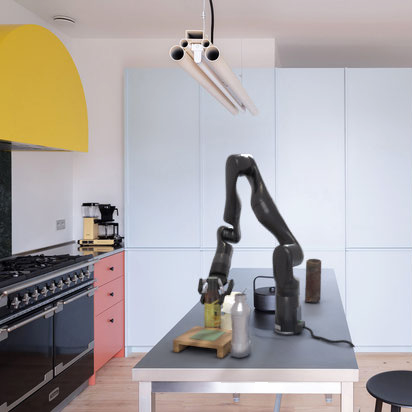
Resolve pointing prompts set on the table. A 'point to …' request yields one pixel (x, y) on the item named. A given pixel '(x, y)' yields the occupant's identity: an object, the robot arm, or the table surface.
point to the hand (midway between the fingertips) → (211, 303)
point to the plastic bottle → (240, 327)
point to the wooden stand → (205, 339)
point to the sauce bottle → (212, 304)
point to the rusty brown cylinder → (313, 280)
